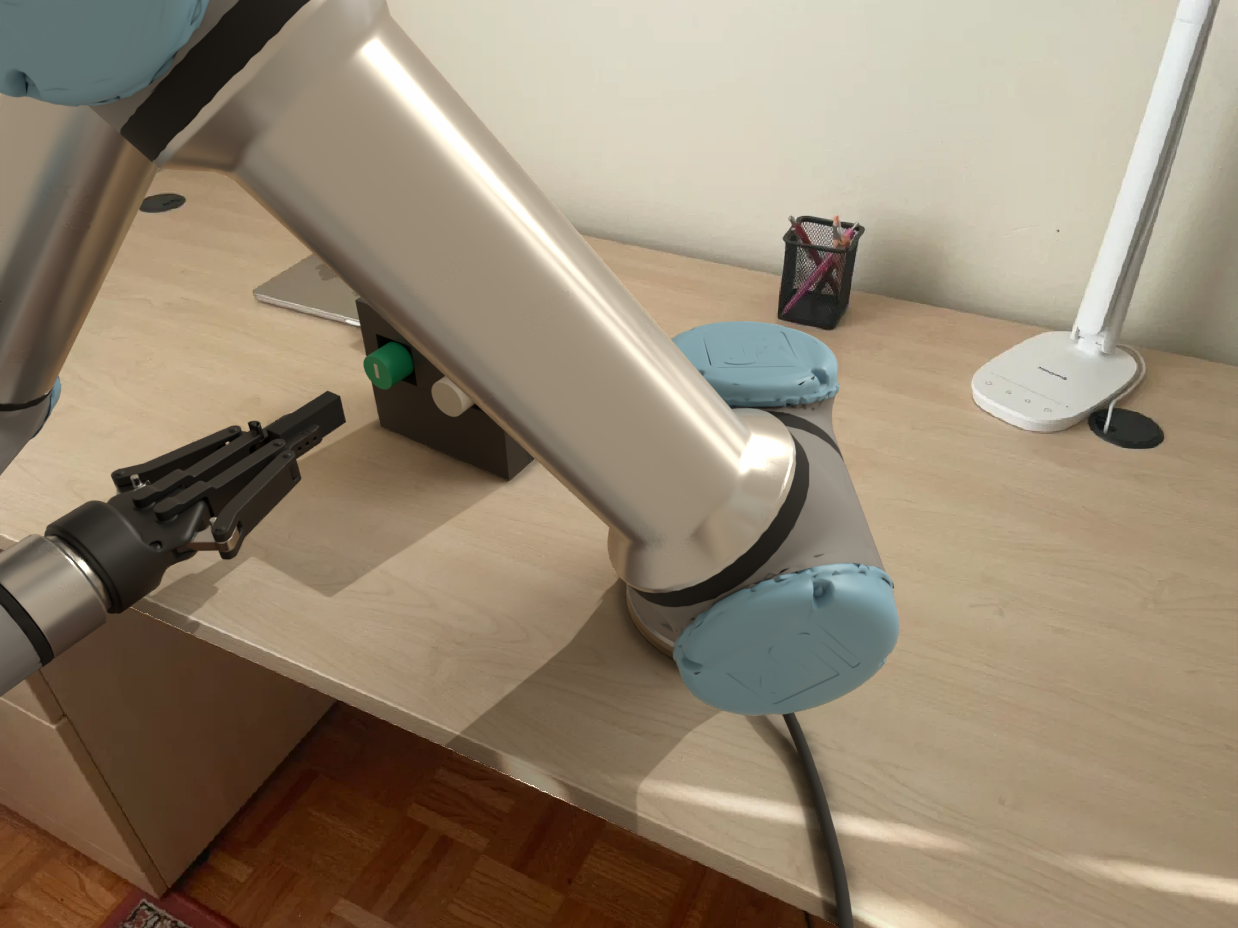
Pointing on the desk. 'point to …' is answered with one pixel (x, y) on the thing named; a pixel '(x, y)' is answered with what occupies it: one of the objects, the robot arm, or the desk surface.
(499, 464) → the dock
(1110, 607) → the desk surface
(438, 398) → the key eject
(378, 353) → the key power
